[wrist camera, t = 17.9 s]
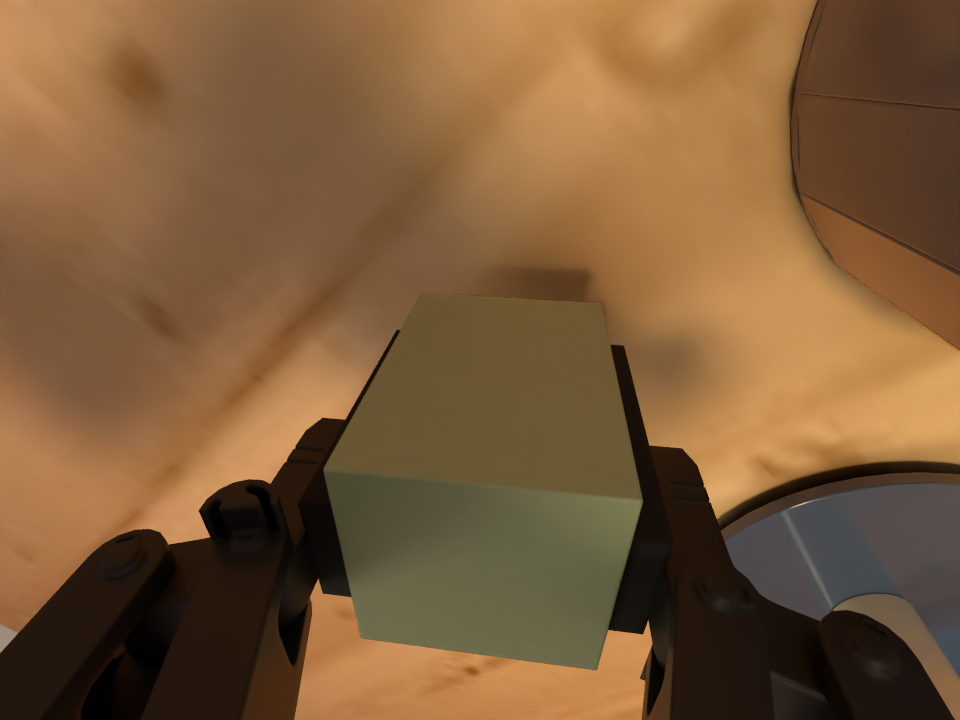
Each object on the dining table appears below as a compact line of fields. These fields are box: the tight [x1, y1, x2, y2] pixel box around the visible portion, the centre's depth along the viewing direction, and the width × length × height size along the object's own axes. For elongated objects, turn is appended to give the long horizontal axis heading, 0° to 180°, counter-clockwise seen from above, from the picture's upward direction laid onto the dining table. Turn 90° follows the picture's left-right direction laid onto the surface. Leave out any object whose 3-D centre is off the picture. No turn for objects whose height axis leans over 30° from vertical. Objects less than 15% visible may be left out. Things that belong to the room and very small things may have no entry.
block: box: [324, 293, 643, 670], centre depth 12 cm, size 5×5×7 cm
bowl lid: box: [721, 472, 960, 720], centre depth 18 cm, size 16×16×9 cm
